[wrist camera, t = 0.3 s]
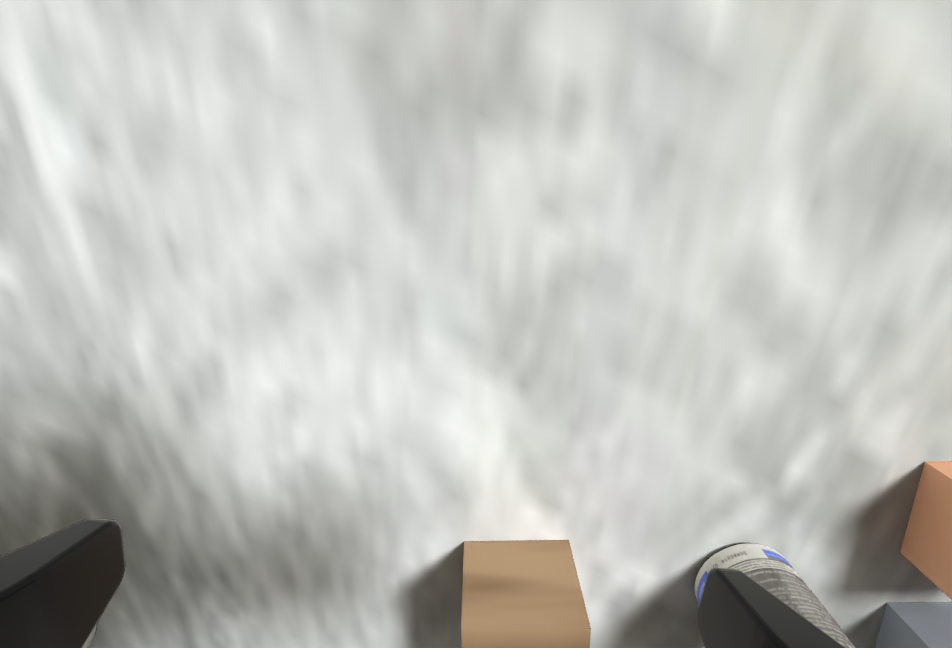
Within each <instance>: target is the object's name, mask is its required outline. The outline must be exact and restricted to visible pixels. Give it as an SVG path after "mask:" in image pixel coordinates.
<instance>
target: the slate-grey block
mask: <svg viewBox="0 0 952 648" xmlns="http://www.w3.org/2000/svg"><path fill="white" fill-rule="evenodd" d="M875 648H952V602H893V603H886V607H885V611H884V615H883V618H882V622H881V626H880V629H879V633H878V637H877V641H876V644H875Z"/></svg>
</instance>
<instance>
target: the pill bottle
mask: <svg viewBox="0 0 952 648" xmlns="http://www.w3.org/2000/svg"><path fill="white" fill-rule="evenodd" d="M712 568H729V569H737V570H740V571H741V572H743V573H744V574H746V575H747V576H748V577H750V578H751V579H753V580H754V581H755V582H757V583H758V584H759V585H761V586H762V587H763V588H765V589H766V590H768V591H769V592H770V593H772V594H773V595H774V596H776V597H777V598H778V599H780V600H781V601H783V602H784V603H785V604H787V605H788V606H789V607H791V608H792V609H793V610H795V611H796V612H798V613H799V614H800V615H802V616H803V617H804V618H806V619H807V620H808V621H810V622H811V623H812V624H814V625H815V626H817V627H818V628H819V629H821V630H822V631H823V632H825V633H826V634H827V635H829V636H830V637H832V638H833V639H834V640H836V641H837V642H838V643H840V644H841V645H842V646H844V647H845V648H856V647H855V646H854V645H853V643H852V642H851V641H850V640H849V639H848V637H847V636H846V635H845V633H844V632H843V631H842V629H841V628H840V626H839V625H838V624H837V623H836V621H835V620H834V619H833V618H832V617H831V615H830V614H829V613H828V611H827V610H826V609H825V608H824V606H823V605H822V604H821V603H820V601H819V600H818V599H817V597H816V596H815V595H814V594H813V593H812V591H811V590H810V589H809V588H808V587H807V585H806V584H805V583H804V581H803V580H802V579H801V578H800V576H799V575H798V574H797V573H796V572H795V570H794V569H793V568H792V566H791V565H790V564H789V563H788V561H787V560H786V559H785V558H784V557H783V556H782V555H781V554H780V553H778V552H777V551H775V550H773V549H772V548H770V547H767V546H764V545H760V544H751V543H745V544H737V545H734V546H731V547H728V548H725V549H723V550H721V551H719V552H718V553H716V554H714V555H713V556H712V557H710V558H709V559H708V560H707V561H706V562H705V563H704V564H703V566H702V567H701V568H700V570H699V572H698V574H697V577H696V581H695V595H696V599H697V602H698V604H700V600H701V596H702V593H703V589H704V585H705V581H706V578H707V575H708V572H709V571H710V570H711V569H712Z"/></svg>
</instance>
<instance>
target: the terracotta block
mask: <svg viewBox="0 0 952 648" xmlns="http://www.w3.org/2000/svg"><path fill="white" fill-rule="evenodd" d="M900 553H901V554H902V555H903V556H904V557H905V558H906V559H908V560H909V561H910V562H911V563H912V564H913V565H914V566H915V567H916V568H917V569H919V570H920V571H921V572H922V573H923V574H924V575H925V576H926V577H927V578H928V579H930V580H931V581H932V582H933V583H934V584H935V585H936V586H937V587H938V588H939V589H941V590H942V591H943V592H944V593H945V594H946V595H947V596H948V597H949V598H950V599H952V461H926V462H924V466H923V470H922V473H921V477H920V481H919V484H918V488H917V492H916V496H915V499H914V503H913V507H912V510H911V514H910V518H909V522H908V525H907V529H906V533H905V537H904V540H903V544H902V548H901V551H900Z"/></svg>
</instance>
